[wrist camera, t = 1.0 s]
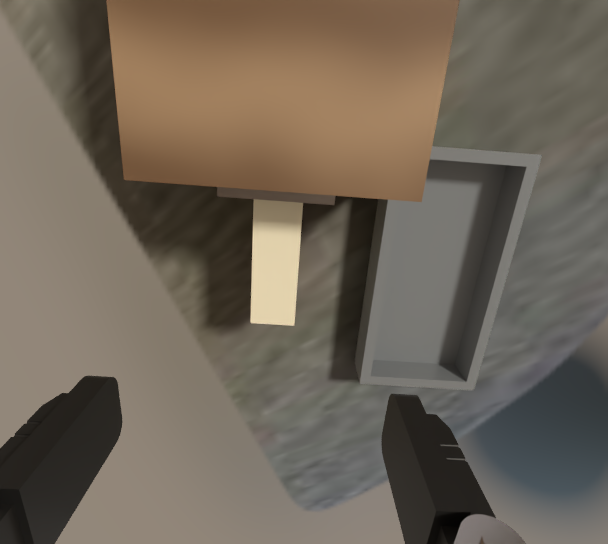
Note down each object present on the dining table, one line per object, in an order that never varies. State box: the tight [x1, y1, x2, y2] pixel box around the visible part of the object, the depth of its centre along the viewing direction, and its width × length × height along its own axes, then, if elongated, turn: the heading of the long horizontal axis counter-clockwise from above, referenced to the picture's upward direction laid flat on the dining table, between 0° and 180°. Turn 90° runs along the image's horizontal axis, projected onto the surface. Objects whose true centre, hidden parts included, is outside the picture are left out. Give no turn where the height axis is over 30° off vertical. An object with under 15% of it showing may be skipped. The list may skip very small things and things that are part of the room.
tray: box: [355, 146, 542, 390], centre depth 25 cm, size 16×8×3 cm, turn 176°
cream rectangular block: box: [251, 199, 303, 326], centre depth 21 cm, size 12×3×6 cm, turn 176°
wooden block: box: [106, 0, 459, 205], centre depth 17 cm, size 15×12×10 cm
